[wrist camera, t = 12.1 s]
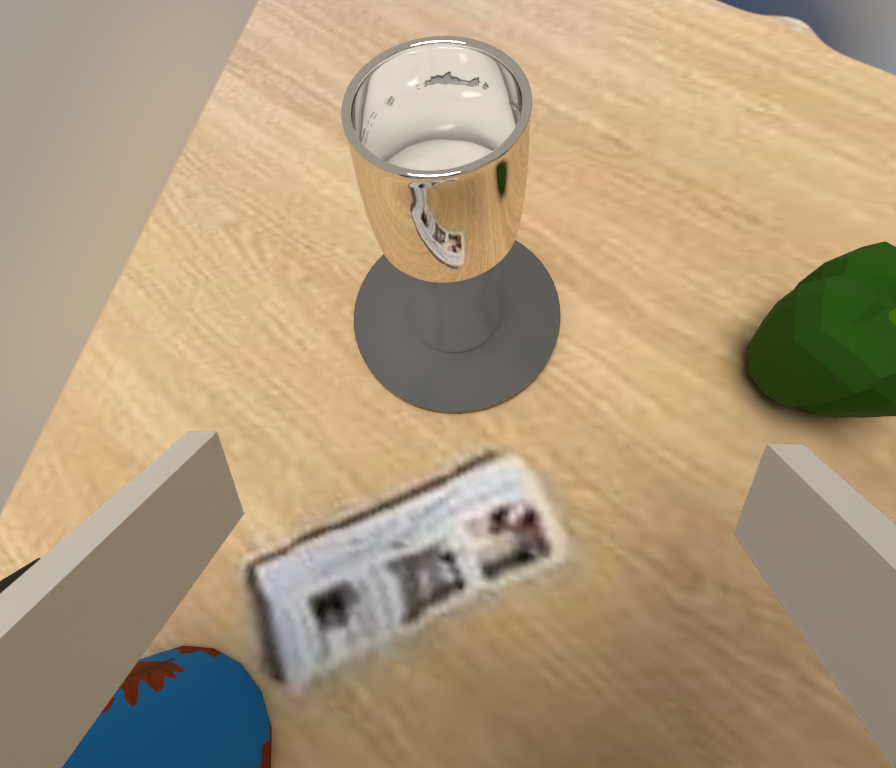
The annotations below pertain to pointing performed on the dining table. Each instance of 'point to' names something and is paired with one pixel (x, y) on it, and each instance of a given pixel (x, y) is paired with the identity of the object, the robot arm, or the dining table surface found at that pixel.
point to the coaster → (470, 372)
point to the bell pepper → (833, 339)
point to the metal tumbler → (443, 176)
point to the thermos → (180, 717)
